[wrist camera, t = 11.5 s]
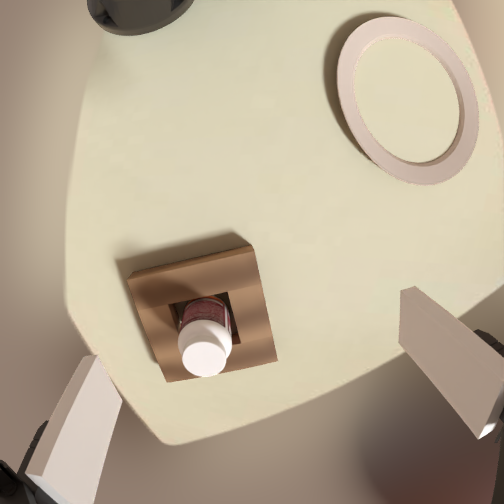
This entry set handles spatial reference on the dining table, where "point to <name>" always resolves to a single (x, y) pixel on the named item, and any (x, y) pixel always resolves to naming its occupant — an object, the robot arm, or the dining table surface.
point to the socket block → (196, 286)
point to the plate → (460, 78)
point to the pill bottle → (205, 336)
